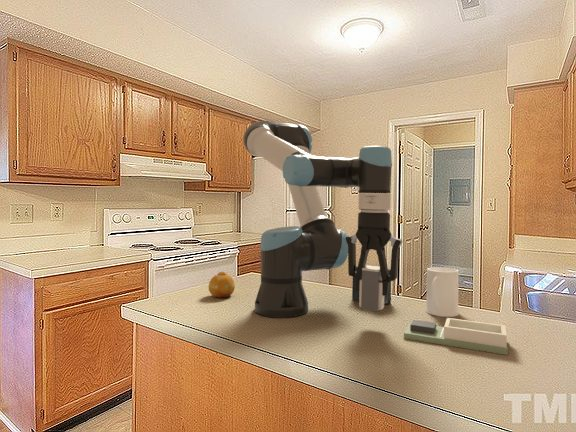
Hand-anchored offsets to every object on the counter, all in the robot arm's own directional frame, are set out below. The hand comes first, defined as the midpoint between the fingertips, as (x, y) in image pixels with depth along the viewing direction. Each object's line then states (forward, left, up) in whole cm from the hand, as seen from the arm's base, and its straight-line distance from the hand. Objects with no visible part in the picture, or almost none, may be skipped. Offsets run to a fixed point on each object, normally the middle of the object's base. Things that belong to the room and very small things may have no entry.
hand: (371, 306), depth 91 cm
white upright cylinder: (+14, +19, -5) cm, 24 cm away
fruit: (-51, +7, -5) cm, 52 cm away
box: (-6, +23, -5) cm, 25 cm away
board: (+19, 0, -5) cm, 19 cm away
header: (+23, 0, -4) cm, 23 cm away
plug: (0, 0, 0) cm, 0 cm away
